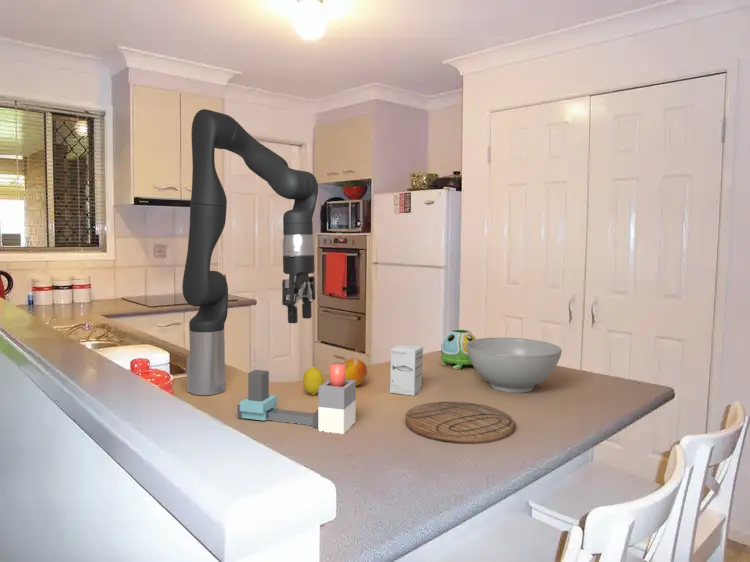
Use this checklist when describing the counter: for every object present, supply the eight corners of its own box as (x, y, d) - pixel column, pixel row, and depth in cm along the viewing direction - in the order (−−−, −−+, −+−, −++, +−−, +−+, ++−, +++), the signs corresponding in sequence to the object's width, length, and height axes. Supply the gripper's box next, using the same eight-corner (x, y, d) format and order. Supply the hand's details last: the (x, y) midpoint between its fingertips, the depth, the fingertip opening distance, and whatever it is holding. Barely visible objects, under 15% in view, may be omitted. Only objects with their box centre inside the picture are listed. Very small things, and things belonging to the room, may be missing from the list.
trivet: (383, 420, 132) (383, 412, 132) (458, 403, 147) (458, 396, 147) (458, 454, 112) (458, 445, 112) (536, 430, 127) (537, 422, 127)
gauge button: (327, 391, 125) (327, 365, 124) (333, 387, 128) (333, 362, 127) (342, 393, 124) (342, 366, 123) (347, 389, 127) (347, 363, 126)
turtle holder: (473, 375, 175) (474, 337, 174) (432, 364, 189) (433, 329, 188) (498, 369, 183) (499, 333, 182) (457, 359, 197) (458, 326, 196)
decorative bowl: (525, 372, 179) (526, 335, 178) (580, 396, 153) (582, 353, 152) (449, 378, 170) (450, 339, 169) (495, 404, 145) (496, 358, 144)
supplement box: (389, 393, 154) (389, 348, 153) (398, 386, 160) (398, 343, 159) (414, 396, 151) (415, 350, 150) (422, 389, 158) (423, 345, 157)
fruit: (332, 388, 158) (332, 360, 157) (344, 381, 166) (345, 354, 165) (360, 391, 155) (360, 363, 154) (371, 384, 163) (371, 357, 162)
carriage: (239, 418, 130) (239, 374, 129) (254, 410, 136) (254, 367, 136) (262, 421, 128) (262, 376, 127) (276, 412, 135) (276, 369, 134)
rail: (237, 418, 131) (237, 405, 131) (248, 412, 136) (248, 399, 136) (317, 428, 125) (317, 414, 125) (325, 421, 130) (326, 408, 130)
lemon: (320, 398, 148) (320, 369, 147) (300, 397, 149) (300, 368, 148) (325, 393, 153) (326, 364, 152) (306, 391, 154) (306, 363, 153)
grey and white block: (318, 431, 124) (318, 387, 123) (331, 419, 131) (331, 378, 130) (343, 434, 122) (343, 389, 121) (355, 422, 129) (355, 380, 129)
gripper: (296, 253, 142) (297, 316, 143) (270, 254, 128) (272, 324, 129) (323, 253, 139) (325, 317, 140) (301, 254, 126) (302, 325, 127)
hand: (300, 320), depth 135 cm, fingers open, 8 cm apart
